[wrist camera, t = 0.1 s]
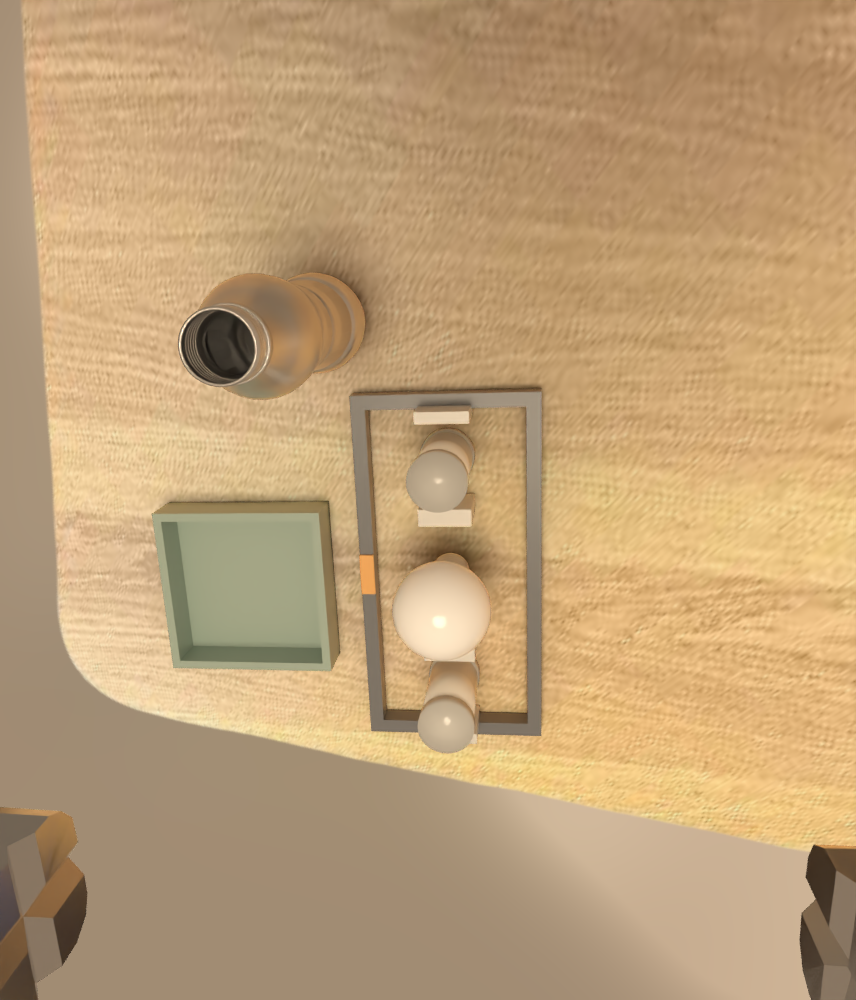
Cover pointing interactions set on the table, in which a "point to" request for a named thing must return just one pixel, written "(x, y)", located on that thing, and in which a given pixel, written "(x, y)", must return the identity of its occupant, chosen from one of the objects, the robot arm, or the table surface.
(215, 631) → the tray
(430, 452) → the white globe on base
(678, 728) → the table surface
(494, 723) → the rail
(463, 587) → the lightbulb
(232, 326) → the plastic bottle
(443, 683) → the cylinder
